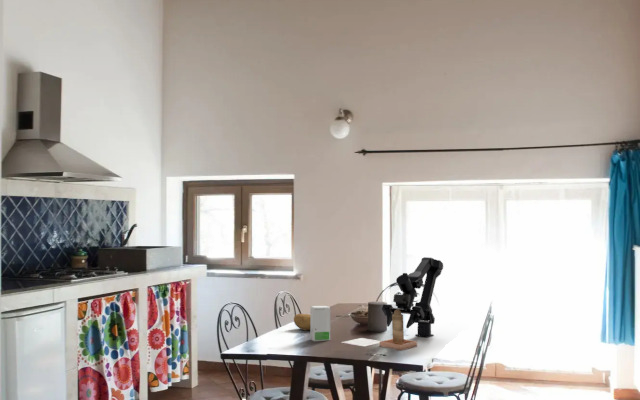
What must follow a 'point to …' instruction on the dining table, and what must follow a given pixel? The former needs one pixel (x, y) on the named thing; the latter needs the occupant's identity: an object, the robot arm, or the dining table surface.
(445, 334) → the dining table surface
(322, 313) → the skincare box
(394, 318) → the pepper mill
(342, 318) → the dining table surface
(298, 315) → the potato
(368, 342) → the felt mat
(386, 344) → the terracotta dish
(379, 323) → the pillar candle
